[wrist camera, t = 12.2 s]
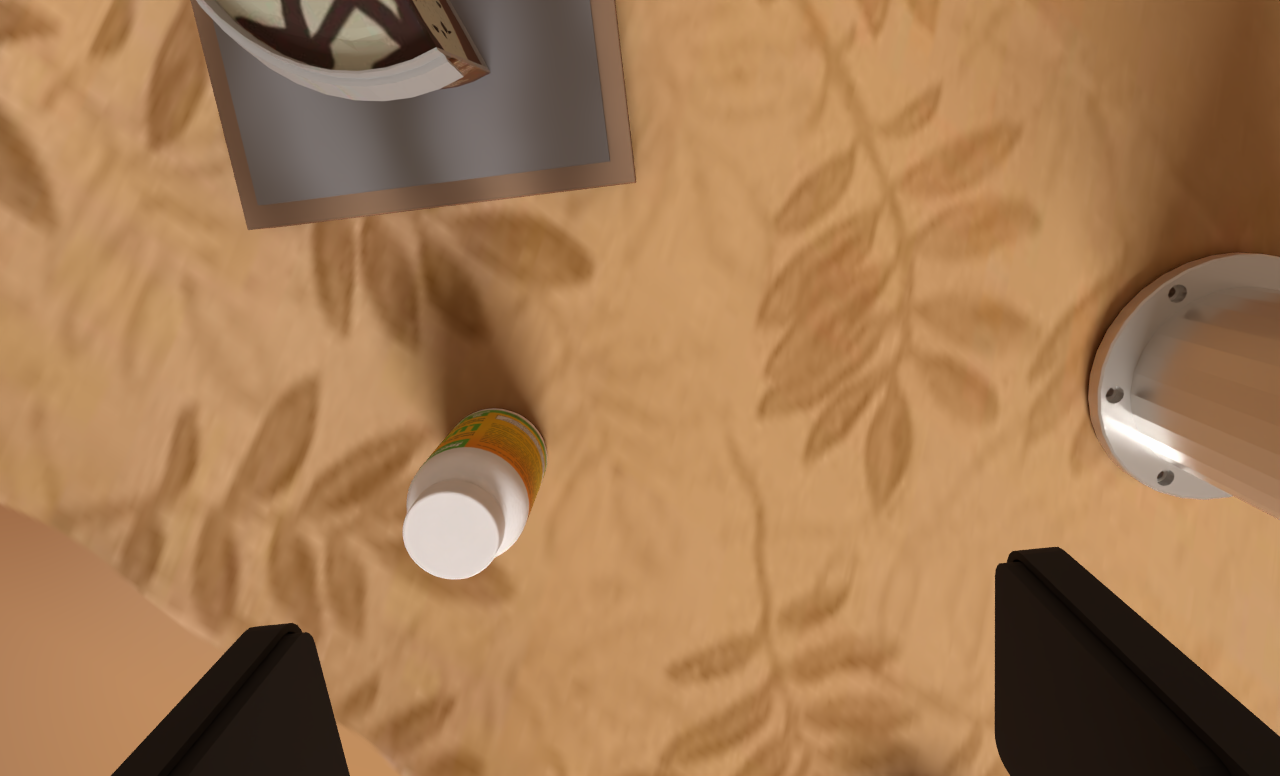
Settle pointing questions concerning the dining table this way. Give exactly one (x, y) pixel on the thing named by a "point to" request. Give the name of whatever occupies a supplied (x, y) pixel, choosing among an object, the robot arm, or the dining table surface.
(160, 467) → the dining table surface
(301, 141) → the podium
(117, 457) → the dining table surface
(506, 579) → the dining table surface
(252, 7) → the food container
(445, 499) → the supplement bottle
